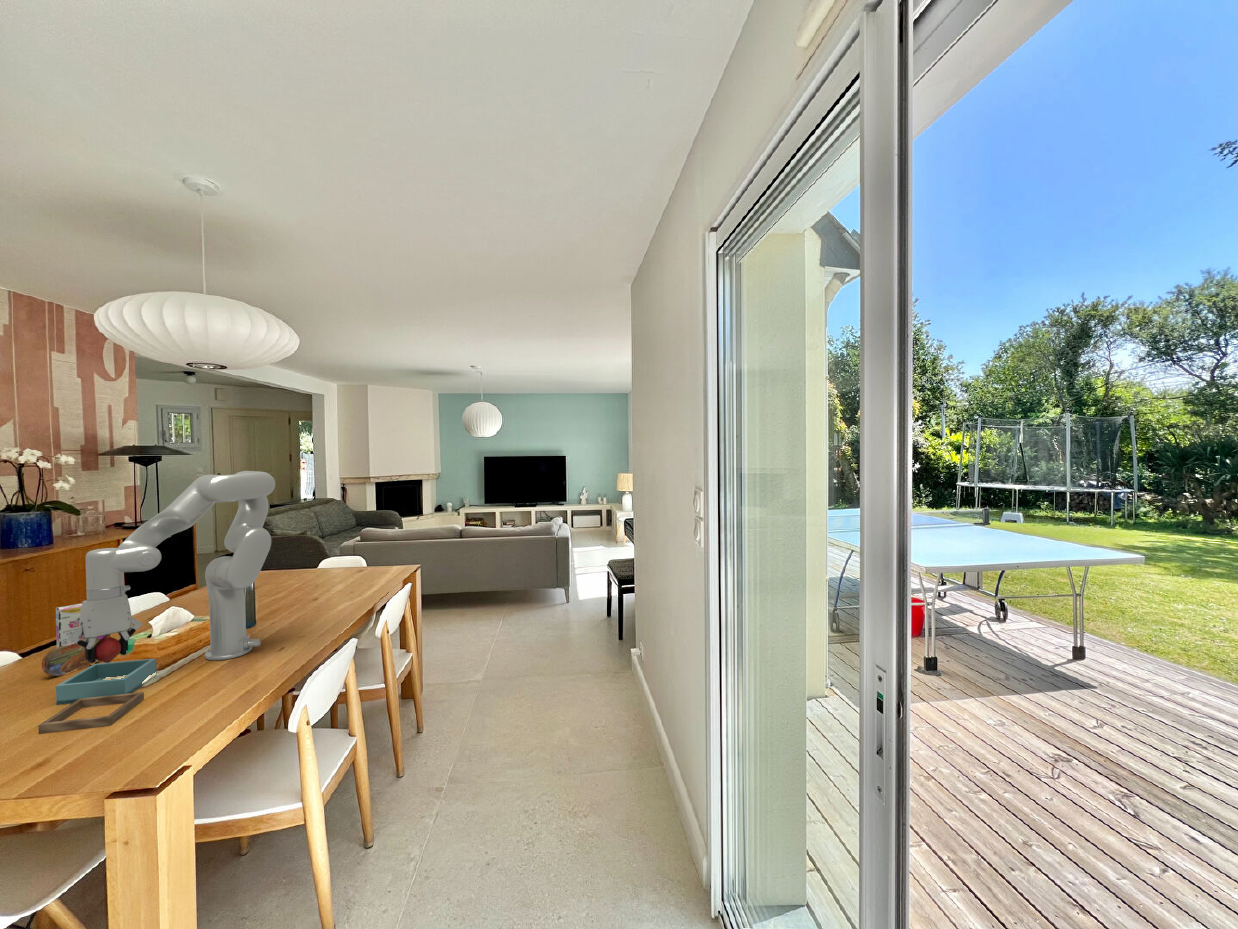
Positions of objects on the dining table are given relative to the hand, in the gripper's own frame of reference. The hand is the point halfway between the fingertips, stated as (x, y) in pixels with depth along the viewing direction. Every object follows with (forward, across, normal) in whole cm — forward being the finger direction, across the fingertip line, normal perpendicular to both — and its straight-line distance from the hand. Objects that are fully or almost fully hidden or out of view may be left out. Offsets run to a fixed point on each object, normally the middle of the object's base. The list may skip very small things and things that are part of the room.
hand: (107, 657), depth 151 cm
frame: (+9, +8, +16) cm, 20 cm away
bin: (+9, 0, 0) cm, 9 cm away
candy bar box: (+9, -6, -41) cm, 42 cm away
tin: (+9, 0, -27) cm, 28 cm away
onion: (+2, 0, 0) cm, 2 cm away
